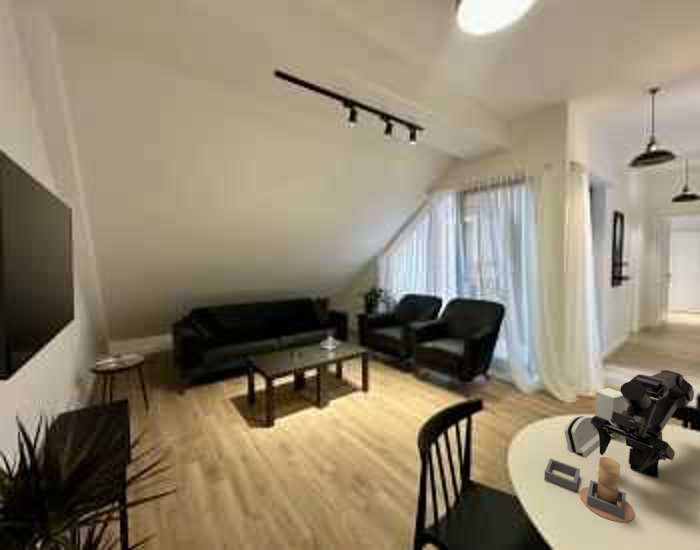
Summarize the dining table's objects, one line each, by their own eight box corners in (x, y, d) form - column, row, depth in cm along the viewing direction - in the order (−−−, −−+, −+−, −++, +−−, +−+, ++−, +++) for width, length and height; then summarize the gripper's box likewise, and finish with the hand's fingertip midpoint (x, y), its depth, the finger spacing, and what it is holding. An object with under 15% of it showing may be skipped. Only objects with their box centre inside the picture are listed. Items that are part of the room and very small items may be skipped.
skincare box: (611, 439, 122) (614, 398, 120) (591, 429, 128) (594, 390, 126) (624, 433, 125) (627, 393, 123) (605, 424, 131) (608, 386, 129)
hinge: (585, 458, 111) (575, 427, 113) (570, 455, 115) (560, 425, 117) (605, 440, 121) (596, 412, 122) (591, 439, 125) (582, 411, 126)
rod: (612, 498, 94) (615, 458, 93) (619, 510, 90) (623, 469, 88) (593, 495, 95) (596, 455, 94) (600, 507, 91) (603, 466, 90)
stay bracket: (634, 501, 93) (635, 492, 93) (634, 530, 84) (635, 520, 84) (582, 481, 101) (583, 473, 101) (577, 506, 92) (577, 496, 92)
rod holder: (579, 476, 103) (580, 469, 103) (575, 491, 97) (576, 483, 97) (549, 465, 108) (550, 458, 108) (544, 479, 102) (544, 471, 102)
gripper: (592, 390, 106) (572, 435, 102) (668, 414, 89) (647, 468, 85) (607, 407, 110) (588, 451, 106) (683, 433, 93) (664, 486, 89)
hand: (618, 462), depth 96 cm, fingers open, 9 cm apart
